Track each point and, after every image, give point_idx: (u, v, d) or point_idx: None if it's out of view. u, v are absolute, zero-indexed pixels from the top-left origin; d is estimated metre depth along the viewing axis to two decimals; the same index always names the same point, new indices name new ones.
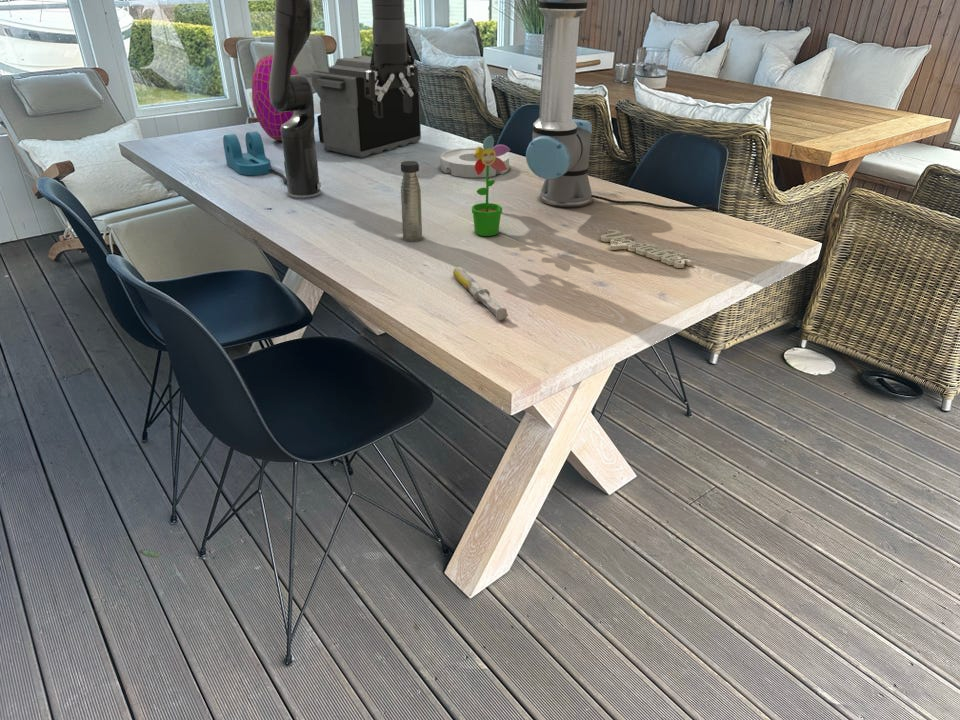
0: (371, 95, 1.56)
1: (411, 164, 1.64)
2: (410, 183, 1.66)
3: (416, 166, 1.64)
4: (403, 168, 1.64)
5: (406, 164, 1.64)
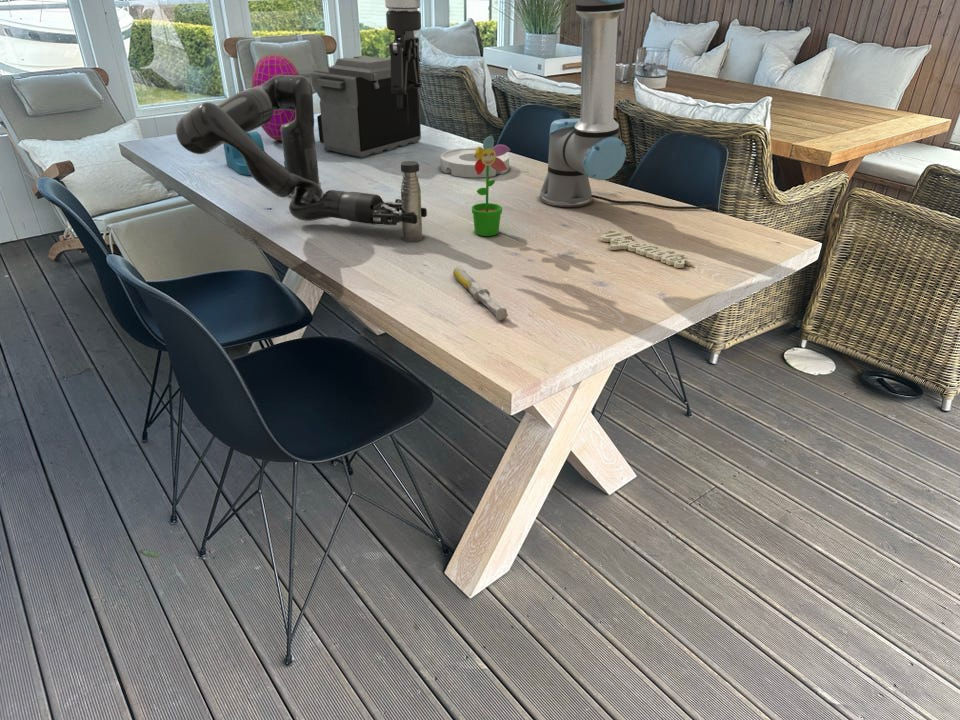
0: None
1: (411, 164, 1.64)
2: (410, 183, 1.66)
3: (416, 166, 1.64)
4: (403, 168, 1.64)
5: (406, 164, 1.64)
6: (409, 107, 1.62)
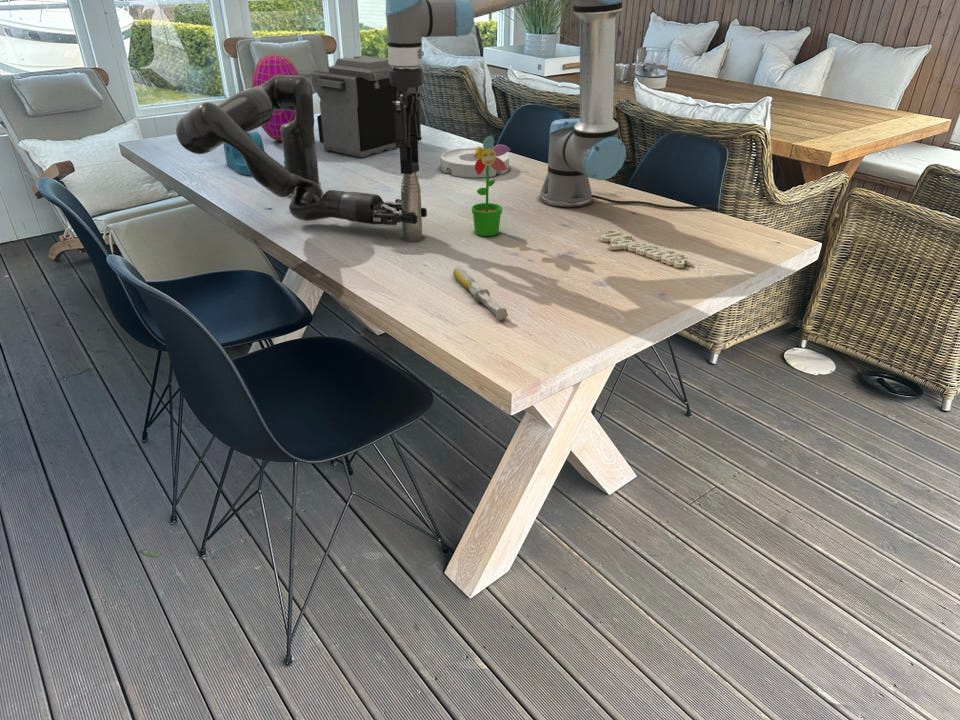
0: None
1: None
2: (410, 183, 1.66)
3: (416, 166, 1.64)
4: None
5: None
6: None
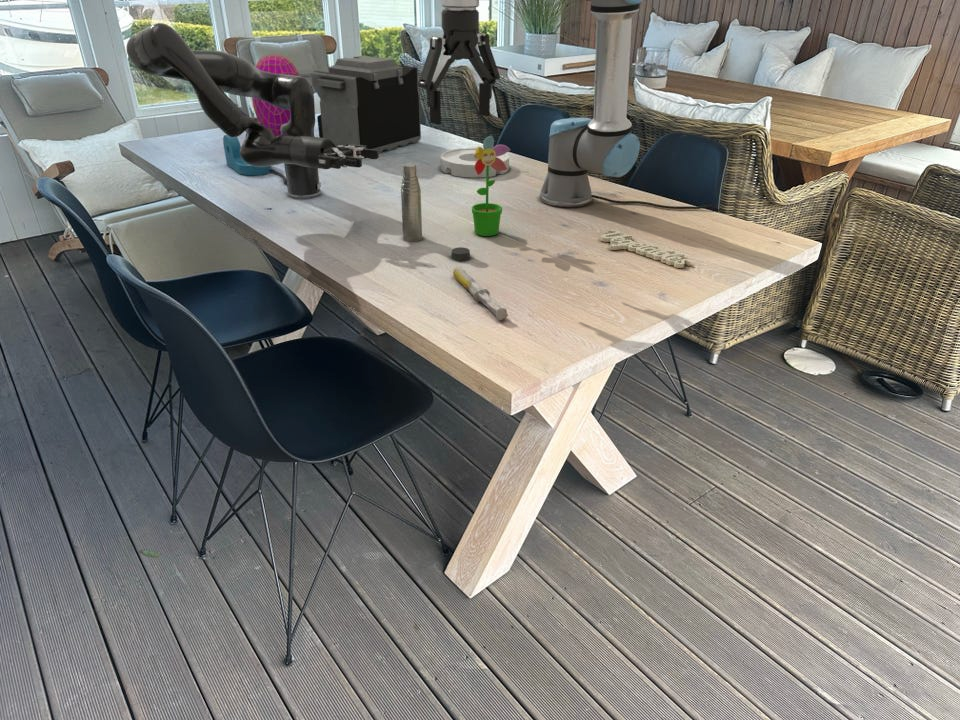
0: None
1: (466, 250, 1.63)
2: (410, 183, 1.66)
3: None
4: (465, 256, 1.62)
5: (464, 252, 1.62)
6: None
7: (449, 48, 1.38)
